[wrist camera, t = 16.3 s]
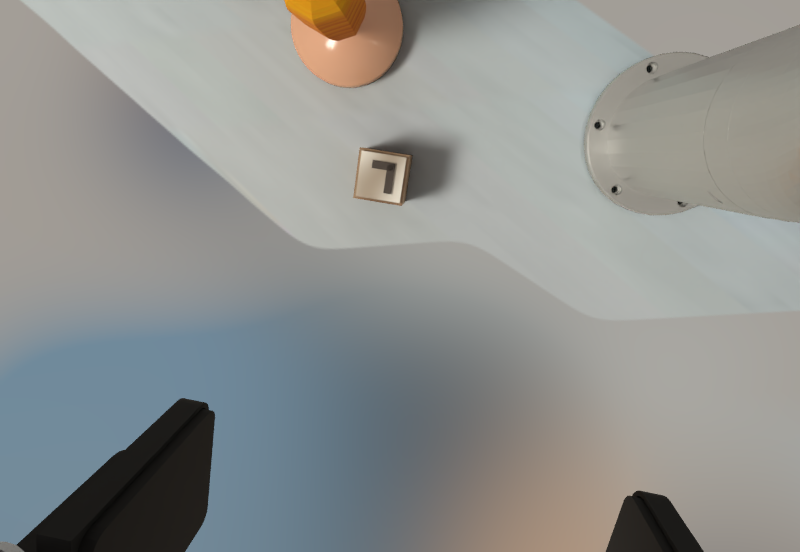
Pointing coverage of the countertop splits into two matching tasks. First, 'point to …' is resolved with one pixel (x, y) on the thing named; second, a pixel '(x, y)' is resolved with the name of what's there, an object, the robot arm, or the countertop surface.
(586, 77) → the countertop surface
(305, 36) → the peach glossy dome
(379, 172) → the letter cube
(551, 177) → the countertop surface
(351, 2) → the carrot
